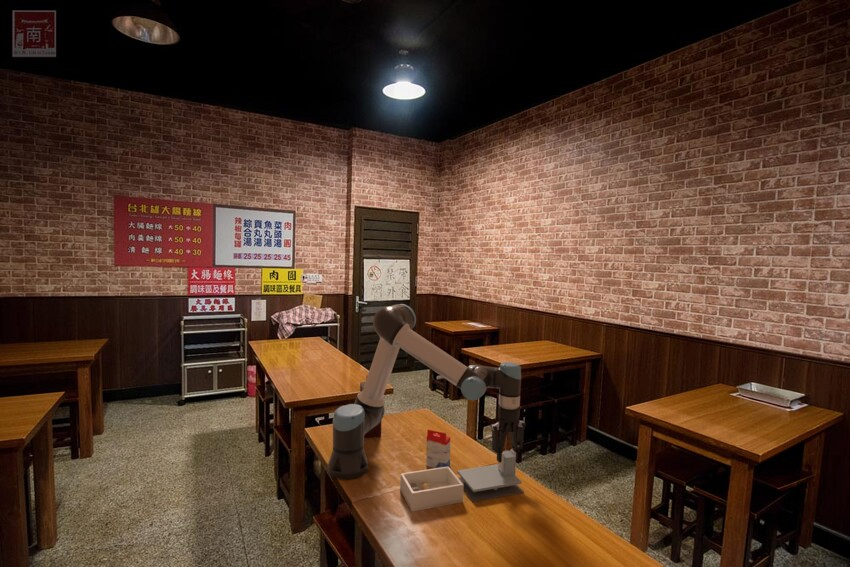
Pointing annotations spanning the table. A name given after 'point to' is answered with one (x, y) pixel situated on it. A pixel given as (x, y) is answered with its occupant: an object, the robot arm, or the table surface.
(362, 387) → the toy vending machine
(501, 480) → the lid
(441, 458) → the ink box
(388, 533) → the table surface
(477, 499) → the mat
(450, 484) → the tub
